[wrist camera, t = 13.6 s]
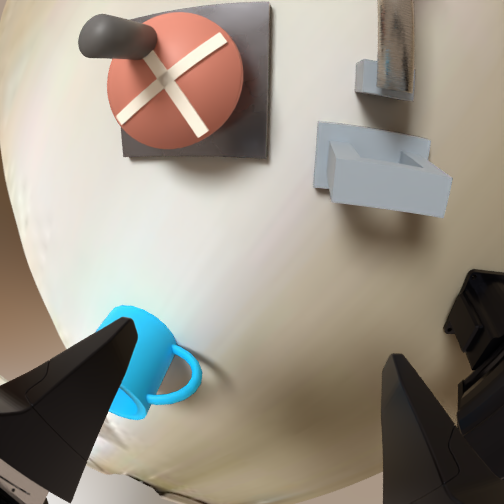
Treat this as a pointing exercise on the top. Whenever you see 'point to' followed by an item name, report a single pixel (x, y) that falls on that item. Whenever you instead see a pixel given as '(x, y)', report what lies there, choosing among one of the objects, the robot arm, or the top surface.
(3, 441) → the robot arm
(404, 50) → the hook rod
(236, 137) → the wheel mount
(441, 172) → the eye bracket
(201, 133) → the handwheel
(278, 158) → the top surface
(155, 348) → the mug
